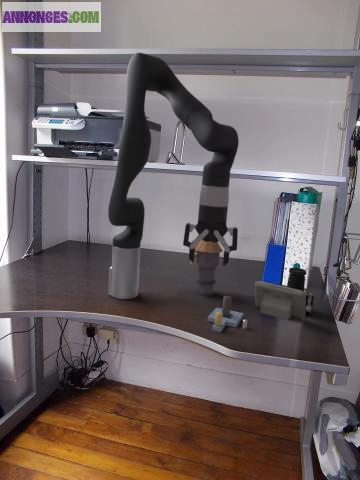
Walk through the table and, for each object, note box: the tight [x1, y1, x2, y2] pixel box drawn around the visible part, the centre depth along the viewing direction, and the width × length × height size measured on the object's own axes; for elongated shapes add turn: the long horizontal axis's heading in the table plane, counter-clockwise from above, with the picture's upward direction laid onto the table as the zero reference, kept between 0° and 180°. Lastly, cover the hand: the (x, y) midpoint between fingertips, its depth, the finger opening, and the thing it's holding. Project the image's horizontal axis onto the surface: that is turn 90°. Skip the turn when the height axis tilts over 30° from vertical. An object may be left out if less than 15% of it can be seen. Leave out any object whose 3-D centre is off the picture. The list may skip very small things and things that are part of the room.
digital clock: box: [254, 280, 307, 322], centre depth 116 cm, size 16×9×11 cm, turn 46°
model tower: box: [190, 240, 224, 297], centre depth 127 cm, size 10×11×30 cm
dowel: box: [241, 318, 248, 330], centre depth 103 cm, size 1×1×3 cm
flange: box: [207, 307, 244, 333], centre depth 106 cm, size 14×8×5 cm, turn 158°
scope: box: [286, 267, 315, 317], centre depth 122 cm, size 8×14×10 cm
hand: (208, 263), depth 100 cm, fingers open, 8 cm apart
